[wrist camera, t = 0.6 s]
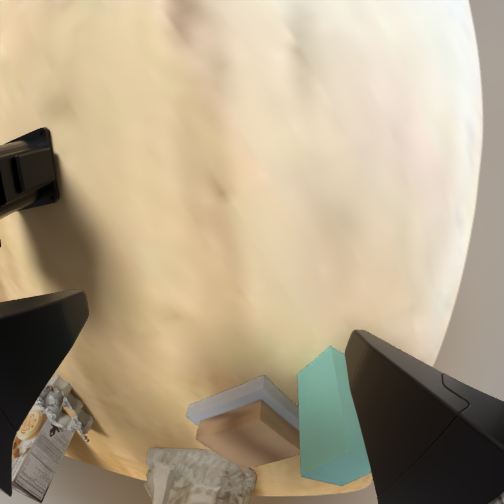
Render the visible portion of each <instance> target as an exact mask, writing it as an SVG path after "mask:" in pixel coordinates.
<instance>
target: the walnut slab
mask: <svg viewBox="0 0 504 504" xmlns="http://www.w3.org/2000/svg"><path fill="white" fill-rule="evenodd" d="M196 440H198V441H199V442H201V443H202V444H204V445H205V446H207V447H208V448H210V449H211V450H213V451H214V452H216V453H218V454H219V455H221V456H222V457H224V458H226V459H227V460H229V461H231V462H232V463H234V464H236V465H237V466H239V467H241V468H243V469H246V468H251V467H255V466H259V465H263V464H267V463H271V462H275V461H278V460H282V459H286V458H289V457H292V456H296V455H299V454H300V431H299V430H298V429H296V428H295V427H294V426H293V425H291V424H290V423H289V422H288V421H286V420H285V419H284V418H283V417H282V416H280V415H279V414H278V413H277V412H276V411H274V410H273V409H272V408H271V407H270V406H269V405H267V404H266V403H265V402H264V401H263V400H262V399H260V400H257V401H255V402H252V403H250V404H247V405H244V406H242V407H239V408H236V409H233V410H231V411H228V412H225V413H222V414H219V415H216V416H213V417H210V418H207V419H204V420H201V421H200V422H199V426H198V430H197V435H196Z"/></svg>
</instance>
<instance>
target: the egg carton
mask: <svg viewBox="0 0 504 504" xmlns="http://www.w3.org/2000/svg"><path fill="white" fill-rule="evenodd" d="M50 386H52V389H51V390H50V388H49V387H50ZM71 389H72V387H71V385H70V384H69V383H68V382H66V381H64V380H63V379H62V378H61V377H60V376H59V375H54V376H53V377H52V379H50V380H49V382H48V383H47V385H46V386H45V388H44V390H43V391H42V393H41V394H40V396H39V397H38V399H37V401H36V404H37V405H39V406H40V407H41V409H42V411H44V412H45V414H46V415H47V417H48V419H49V421H50V422H51V423H52V424H53V425H55V426H57V427H59V428H64V429H65V430H71V431H72V432H73V433H74V432H75V431H76V430H79V431H80V433H81V437H83V438H84V439H85V440H86V442H89V440H88V439H87V436H85V435H84V434H86V433H88V431H89V429H90V427H91V426H92V424H93V421H94V418H93V417H92V415H90V414H88V413H86V412H85V411H84V410H83V409H82V407H83V405H84V404H83V403H82V402H81V401H80V400H79V399H77V398H75V397H74V396H73V395H72V394H71V393H70V391H71ZM62 403H63V406H64V407H67V408H68V409H69V410H71V411H73V412H75V416H74V417H73V418H71V417H70V416H69V415H67V414H66V413H63V412H62V408H63V407H62Z"/></svg>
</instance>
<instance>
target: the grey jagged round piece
mask: <svg viewBox="0 0 504 504" xmlns="http://www.w3.org/2000/svg"><path fill="white" fill-rule="evenodd" d="M146 464H147V466H148V467H149V468H150V469H149V470H148V473H147V474H146V476H147V482H144V483H143V485H144V486H145V488H146V490H147V491H148V494H149V495H150V497H151V499H152V502H153V504H249V501H250V493H251V492H252V490H253V488H254V486H255V482H256V478H257V477H256V473H255V472H254V471H253V470H251V469H250V468H246V469H243V468H241V467H239V466H237V465H236V464H234V463H232V462H231V461H229V460H227V459H226V458H224V457H222V456H221V455H219V454H218V453H216V452H214V451H209V450H203V449H202V450H199V449H178V448H160V447H154V448H151V449H148V452H147V460H146Z"/></svg>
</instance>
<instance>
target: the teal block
mask: <svg viewBox="0 0 504 504" xmlns="http://www.w3.org/2000/svg"><path fill="white" fill-rule="evenodd" d="M297 381H298V403H299V429H300V467H301V477H305V478H309V479H313V480H317V481H321V482H326V483H330V484H335V485H340V486H343V485H345V484H348V483H350V482H352V481H354V480H356V479H358V478H360V477H362V476H364V475H366V474H368V473H370V472H371V468H370V464H369V460H368V456H367V452H366V448H365V444H364V440H363V436H362V432H361V428H360V425H359V421H358V417H357V414H356V410H355V406H354V403H353V399H352V395H351V392H350V387H349V380H348V373H347V367H346V360H345V354H343V353H341V352H340V351H338V350H336V349H335V348H333V347H331V346H330V347H329V348H327V349H326V350H325V351H324V352H323V353H322V354H321V355H319V356H318V357H317V358H316V359H315V360H314V361H312V362H311V363H310V364H309V365H308V366H307V367H305V368H304V369H303V370H302V371H301V372H299V373H298V374H297Z"/></svg>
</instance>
